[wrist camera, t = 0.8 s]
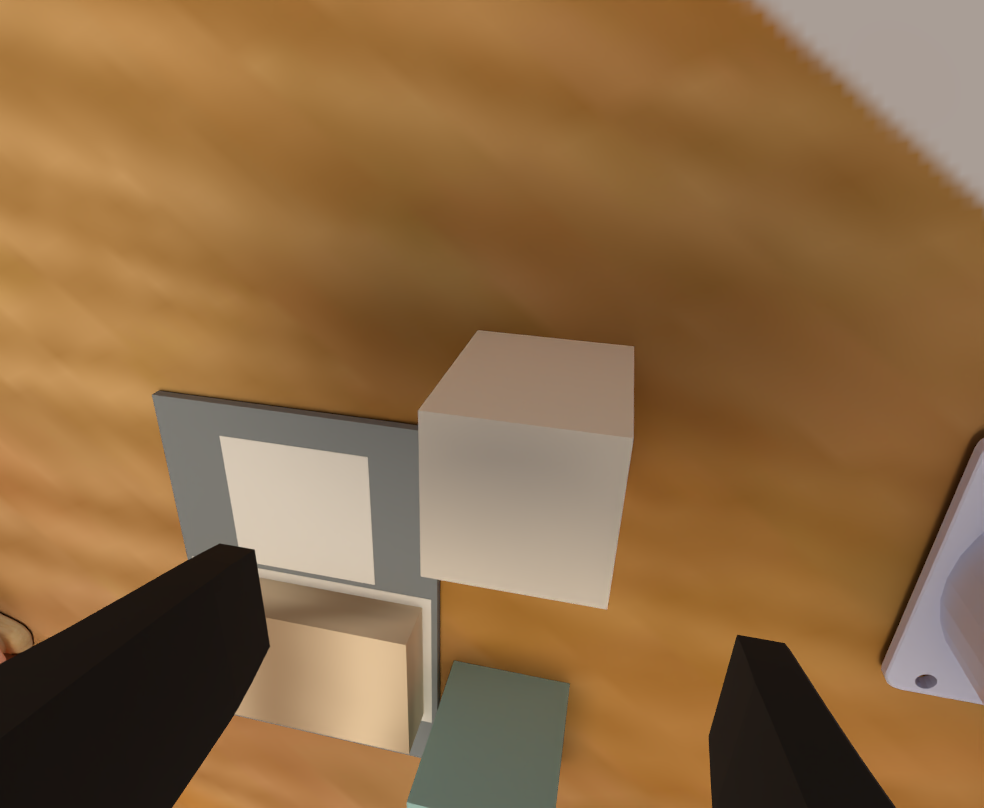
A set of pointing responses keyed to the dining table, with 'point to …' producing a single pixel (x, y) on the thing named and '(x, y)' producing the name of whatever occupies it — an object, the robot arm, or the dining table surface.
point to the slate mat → (307, 504)
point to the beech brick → (340, 666)
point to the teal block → (493, 742)
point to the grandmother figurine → (13, 638)
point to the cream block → (527, 466)
